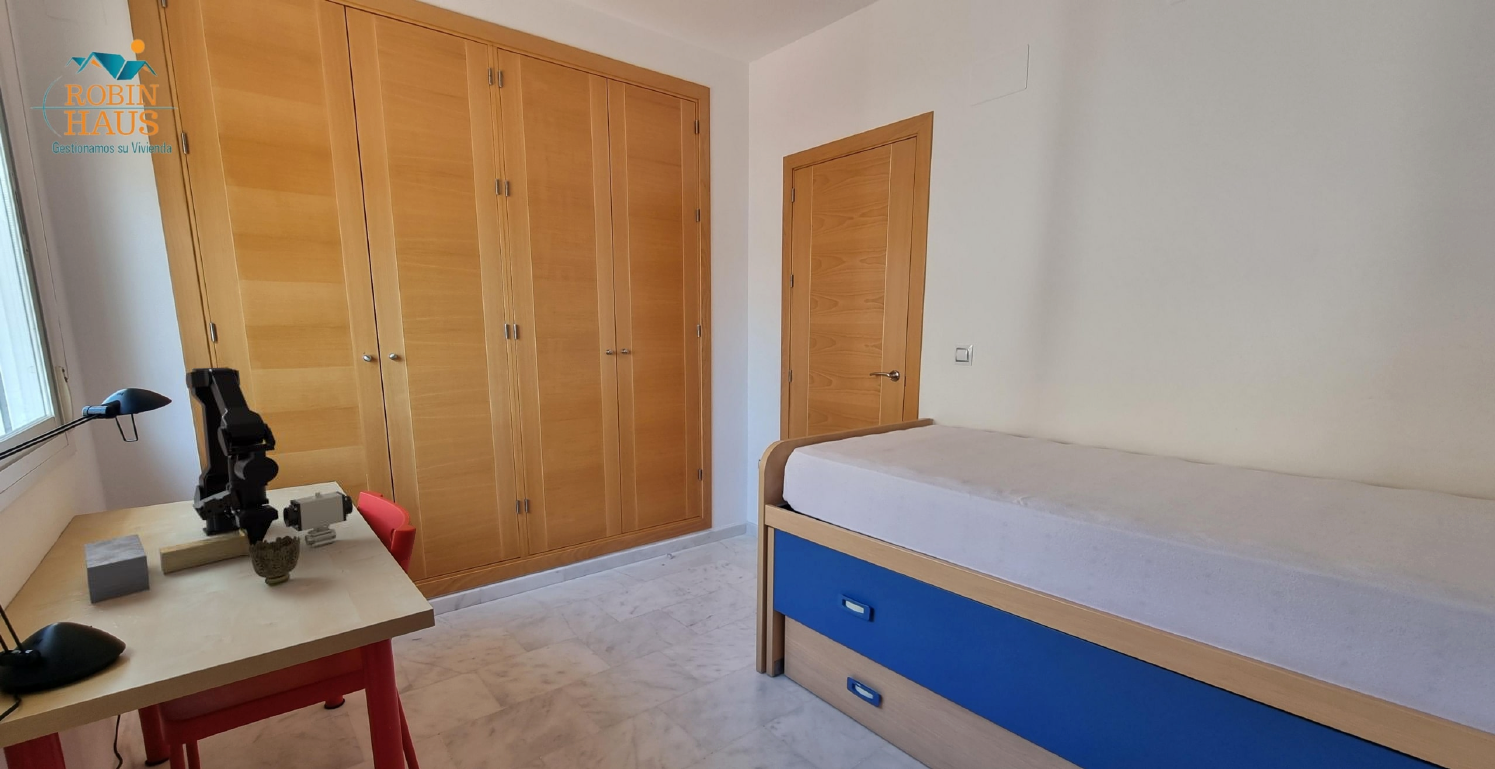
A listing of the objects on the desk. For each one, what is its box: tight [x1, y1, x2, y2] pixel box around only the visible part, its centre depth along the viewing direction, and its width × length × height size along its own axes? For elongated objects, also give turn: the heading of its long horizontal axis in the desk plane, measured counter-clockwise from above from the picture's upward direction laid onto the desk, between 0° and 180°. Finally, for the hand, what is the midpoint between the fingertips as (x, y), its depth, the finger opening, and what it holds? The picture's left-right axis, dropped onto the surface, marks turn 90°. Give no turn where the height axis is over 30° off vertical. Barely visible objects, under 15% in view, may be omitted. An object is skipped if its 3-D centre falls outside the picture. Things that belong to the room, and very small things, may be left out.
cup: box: [249, 534, 301, 586], centre depth 103 cm, size 8×7×8 cm
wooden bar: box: [158, 528, 264, 574], centre depth 114 cm, size 15×5×5 cm, turn 142°
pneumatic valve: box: [282, 491, 354, 548], centre depth 123 cm, size 6×12×12 cm, turn 144°
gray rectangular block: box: [83, 533, 151, 605], centre depth 103 cm, size 7×18×6 cm, turn 52°
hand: (252, 547), depth 119 cm, fingers closed on wooden bar, 5 cm apart
